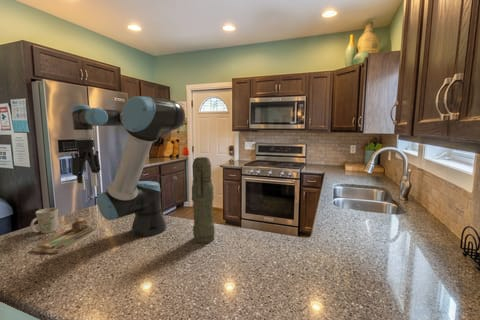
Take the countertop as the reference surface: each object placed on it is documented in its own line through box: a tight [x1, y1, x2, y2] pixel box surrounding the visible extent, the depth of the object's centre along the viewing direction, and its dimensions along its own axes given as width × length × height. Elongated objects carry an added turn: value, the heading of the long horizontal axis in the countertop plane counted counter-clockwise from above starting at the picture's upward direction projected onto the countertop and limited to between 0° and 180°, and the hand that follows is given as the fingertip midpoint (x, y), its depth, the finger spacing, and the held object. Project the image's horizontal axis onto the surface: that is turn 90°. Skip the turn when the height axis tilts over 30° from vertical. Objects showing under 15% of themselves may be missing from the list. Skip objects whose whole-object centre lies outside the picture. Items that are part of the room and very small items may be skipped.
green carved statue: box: [191, 156, 216, 245], centre depth 102 cm, size 9×12×35 cm
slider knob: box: [71, 217, 92, 233], centre depth 111 cm, size 7×4×6 cm, turn 80°
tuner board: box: [31, 226, 98, 254], centre depth 105 cm, size 12×20×2 cm, turn 170°
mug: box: [29, 207, 59, 234], centre depth 113 cm, size 8×13×10 cm, turn 174°
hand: (88, 187), depth 116 cm, fingers open, 7 cm apart
